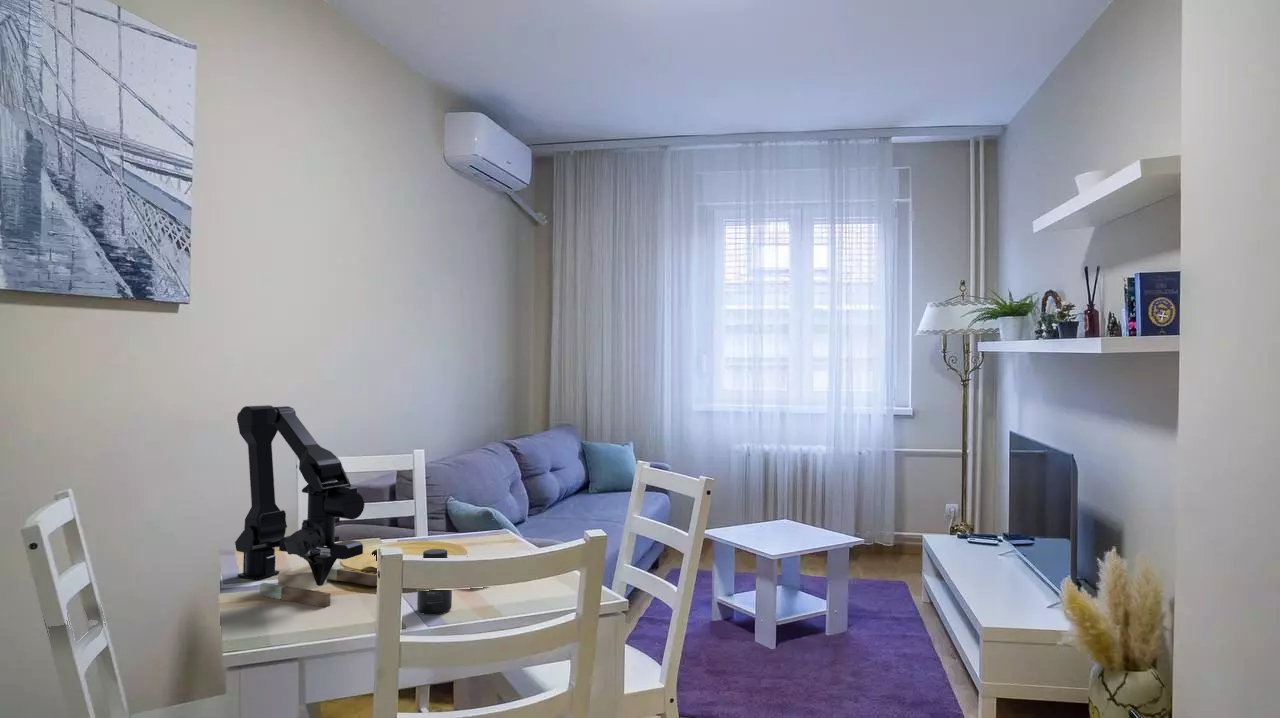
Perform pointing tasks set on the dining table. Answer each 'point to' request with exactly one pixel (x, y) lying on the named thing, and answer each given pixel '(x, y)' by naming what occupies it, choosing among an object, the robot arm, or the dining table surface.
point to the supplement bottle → (434, 591)
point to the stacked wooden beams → (316, 596)
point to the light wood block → (299, 578)
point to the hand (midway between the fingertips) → (320, 585)
